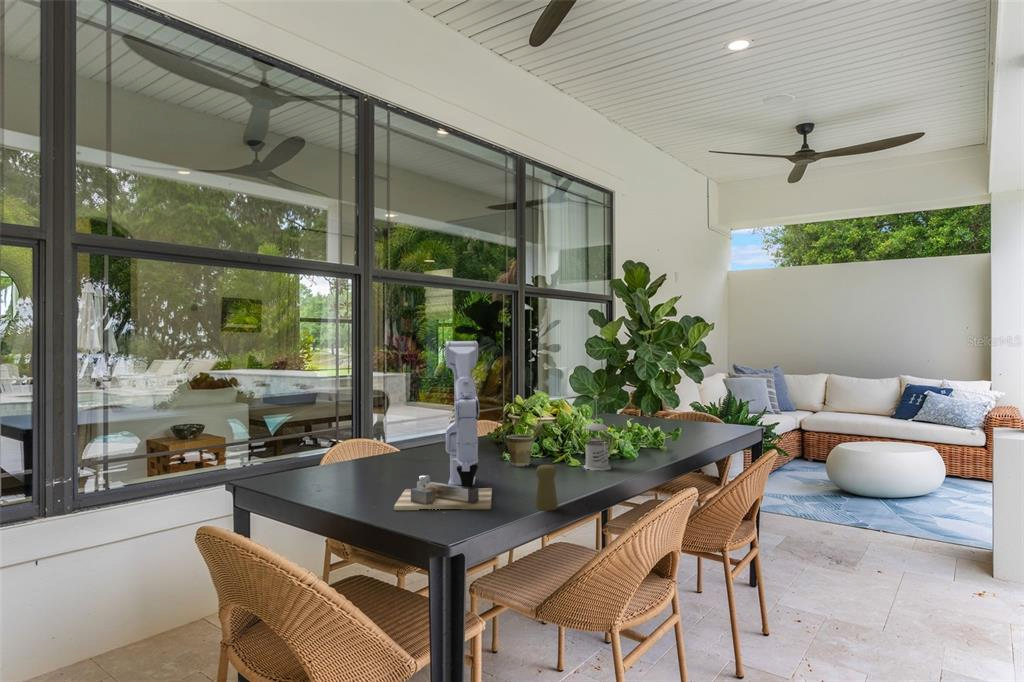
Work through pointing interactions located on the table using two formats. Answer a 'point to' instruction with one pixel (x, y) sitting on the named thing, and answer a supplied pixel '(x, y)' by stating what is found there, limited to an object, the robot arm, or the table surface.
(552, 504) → the pepper mill
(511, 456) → the flower pot
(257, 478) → the table surface
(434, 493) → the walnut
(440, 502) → the cracker board
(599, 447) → the french press
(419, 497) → the grey rectangular block
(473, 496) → the lever
